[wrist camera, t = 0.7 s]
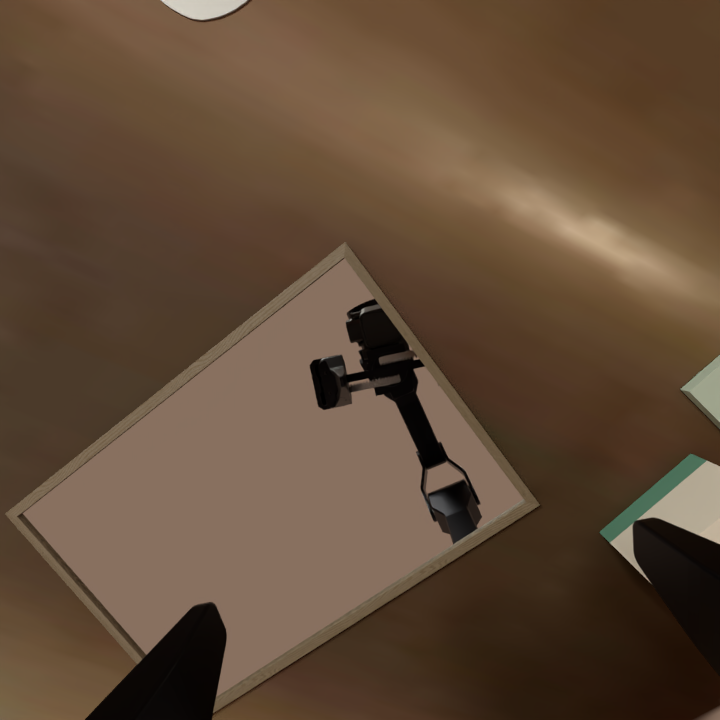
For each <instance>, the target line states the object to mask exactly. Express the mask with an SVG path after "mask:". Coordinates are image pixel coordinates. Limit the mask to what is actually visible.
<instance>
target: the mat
mask: <svg viewBox="0 0 720 720" xmlns="http://www.w3.org/2000/svg"><path fill="white" fill-rule="evenodd" d="M680 390H681V391H682V392H683V393H684V394H685V395H686V396H687V397H688V398H689V399H690V400H691V401H692V402H693V403H694V404H695V405H696V406H697V407H698V408H699V409H700V410H701V411H702V412H703V413H704V414H705V415H706V416H707V417H708V418H709V419H710V420H711V421H712V422H713V423H714V424H715V425H716V426H717V427H718V428H719V429H720V355H719V356H718V357H717V358H716V359H714V360H713V361H712V362H711V363H710V364H709V365H708V366H706V367H705V368H704V369H703V370H702V371H701V372H700V373H698V374H697V375H696V376H695V377H694V378H693V379H692V380H690V381H689V382H688V383H687V384H686V385H685V386H684V387H682V388H681V389H680Z"/></svg>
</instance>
